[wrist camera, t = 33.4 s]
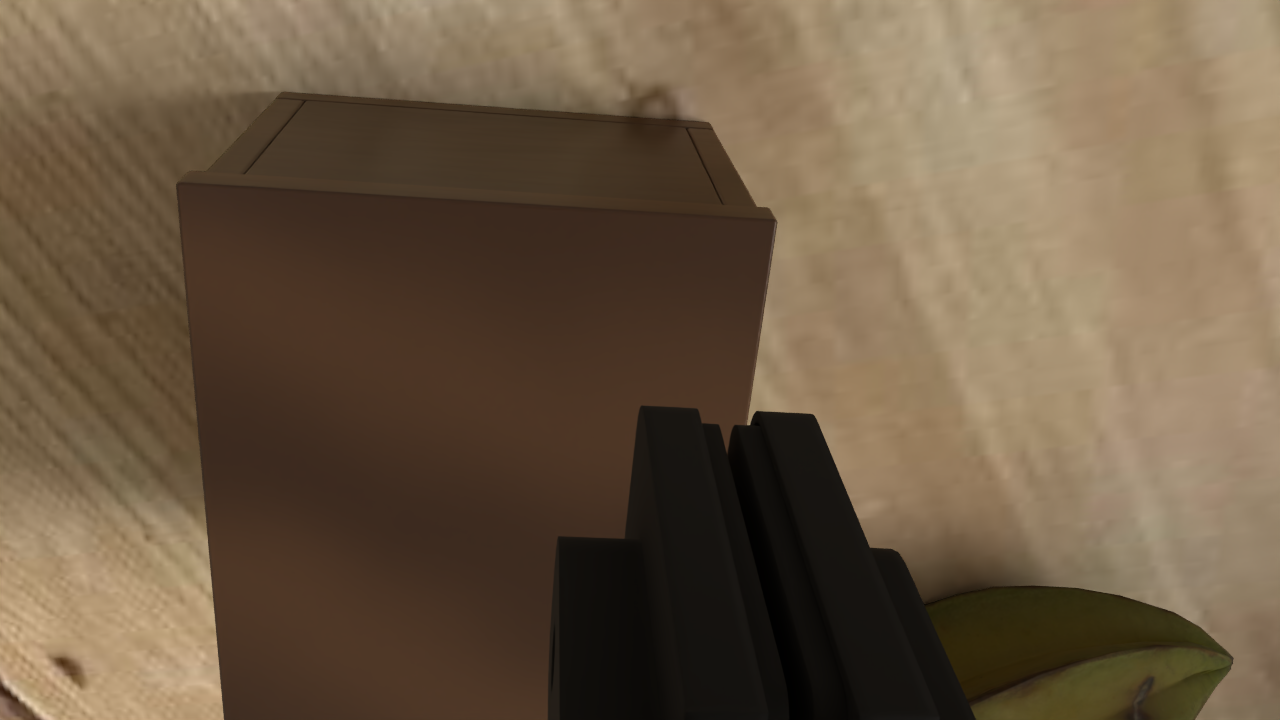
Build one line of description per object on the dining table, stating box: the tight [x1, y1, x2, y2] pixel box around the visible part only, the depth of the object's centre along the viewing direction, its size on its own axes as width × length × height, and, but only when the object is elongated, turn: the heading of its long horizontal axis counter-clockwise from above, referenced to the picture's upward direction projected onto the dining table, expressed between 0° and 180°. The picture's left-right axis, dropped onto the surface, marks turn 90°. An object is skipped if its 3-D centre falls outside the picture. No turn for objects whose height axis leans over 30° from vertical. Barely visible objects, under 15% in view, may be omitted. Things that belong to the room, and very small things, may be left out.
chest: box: [206, 92, 757, 207], centre depth 26 cm, size 12×10×8 cm
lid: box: [176, 171, 777, 720], centre depth 22 cm, size 13×10×1 cm
